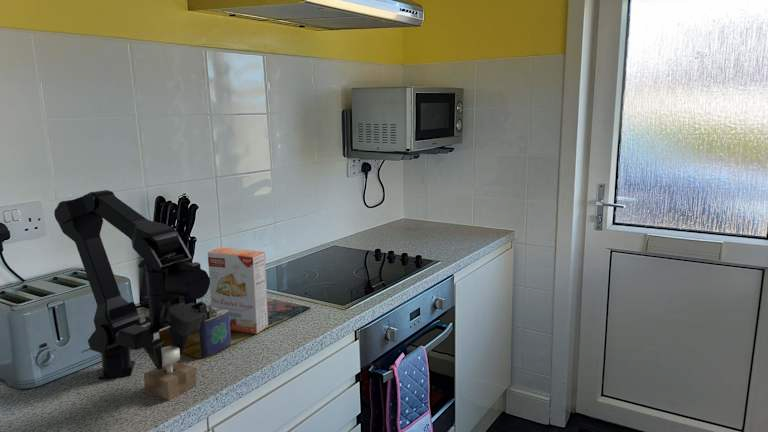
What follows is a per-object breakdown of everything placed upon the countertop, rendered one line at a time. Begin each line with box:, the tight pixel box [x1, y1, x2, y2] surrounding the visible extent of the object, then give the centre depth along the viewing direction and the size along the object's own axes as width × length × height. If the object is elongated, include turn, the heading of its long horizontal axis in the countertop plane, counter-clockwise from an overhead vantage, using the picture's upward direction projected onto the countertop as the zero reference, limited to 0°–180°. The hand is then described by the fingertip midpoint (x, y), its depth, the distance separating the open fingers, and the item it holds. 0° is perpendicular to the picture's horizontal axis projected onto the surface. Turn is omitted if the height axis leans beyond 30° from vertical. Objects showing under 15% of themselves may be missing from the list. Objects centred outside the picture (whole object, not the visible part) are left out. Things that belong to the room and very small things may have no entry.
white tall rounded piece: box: [161, 345, 181, 374], centre depth 114 cm, size 4×4×8 cm
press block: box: [143, 361, 197, 401], centre depth 114 cm, size 7×7×4 cm
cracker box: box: [207, 247, 269, 335], centre depth 145 cm, size 14×6×21 cm, turn 68°
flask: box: [198, 307, 232, 359], centre depth 132 cm, size 9×3×11 cm, turn 152°
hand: (169, 364), depth 114 cm, fingers closed on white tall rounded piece, 4 cm apart
